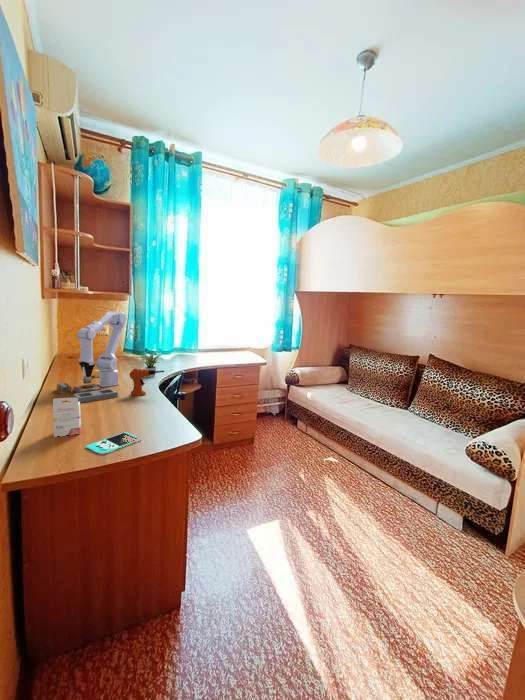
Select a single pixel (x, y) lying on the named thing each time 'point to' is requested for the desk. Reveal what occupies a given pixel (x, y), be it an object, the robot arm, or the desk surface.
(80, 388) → the socket block
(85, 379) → the shiny metal cylinder
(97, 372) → the rubber stamp
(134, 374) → the toy drill
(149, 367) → the house plant
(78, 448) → the desk surface
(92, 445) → the handheld game console
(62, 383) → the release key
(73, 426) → the ink cartridge box
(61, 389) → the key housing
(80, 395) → the rack
